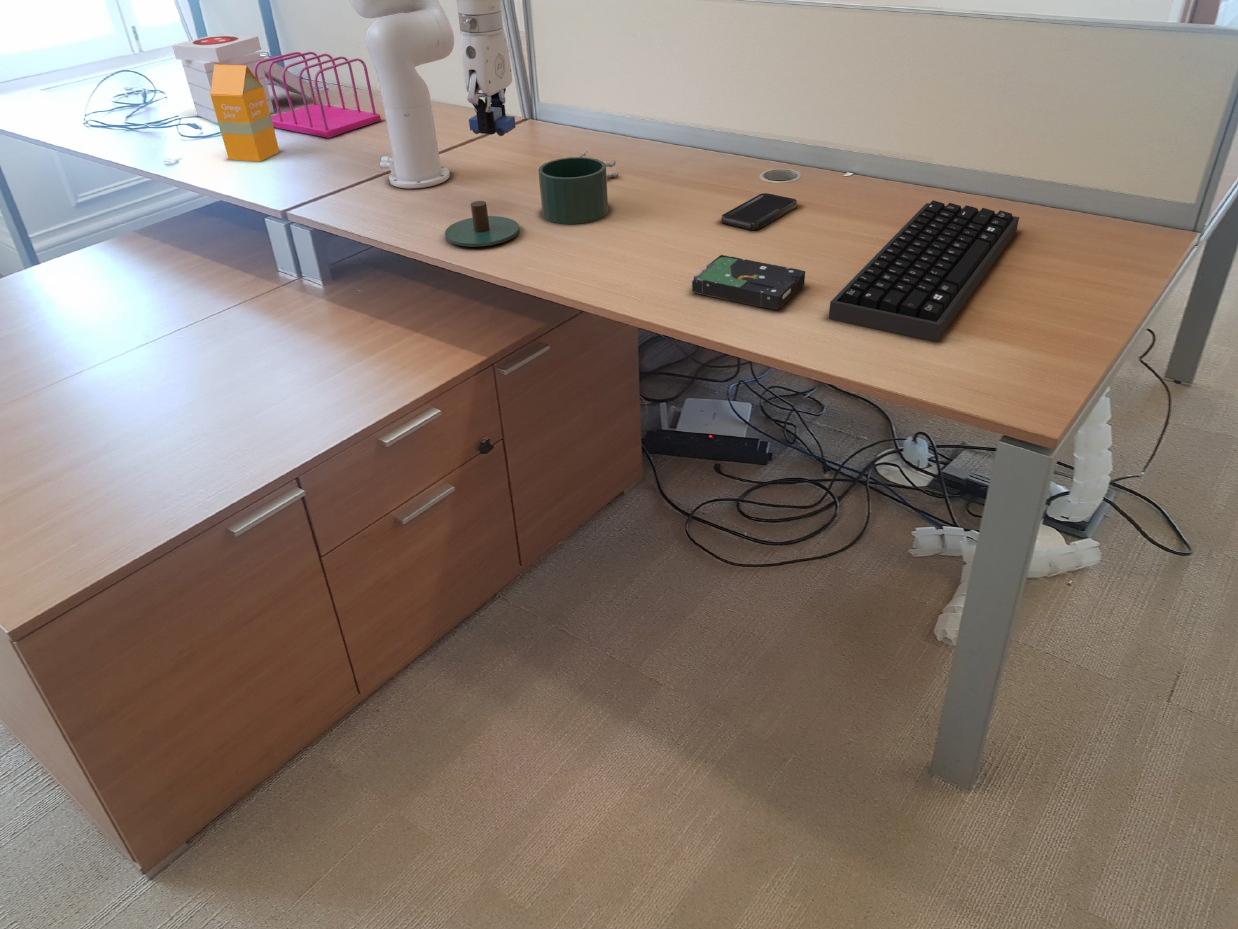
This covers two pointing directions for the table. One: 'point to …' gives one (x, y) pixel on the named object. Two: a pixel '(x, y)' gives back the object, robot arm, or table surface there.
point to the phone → (759, 211)
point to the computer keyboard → (926, 271)
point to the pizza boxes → (228, 50)
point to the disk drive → (749, 282)
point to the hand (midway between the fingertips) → (492, 128)
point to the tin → (573, 190)
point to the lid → (481, 228)
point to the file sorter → (316, 115)
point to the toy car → (496, 122)
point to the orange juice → (242, 113)
